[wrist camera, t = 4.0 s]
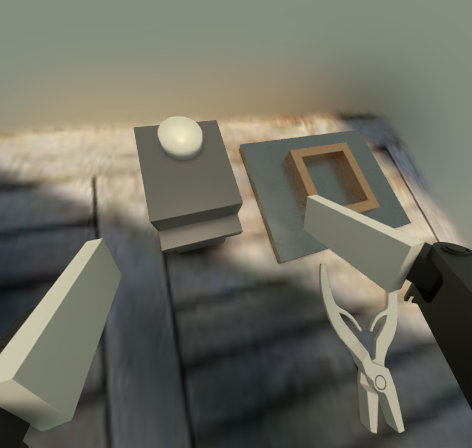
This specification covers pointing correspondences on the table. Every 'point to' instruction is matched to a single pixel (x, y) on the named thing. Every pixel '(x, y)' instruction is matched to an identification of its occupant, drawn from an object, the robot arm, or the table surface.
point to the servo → (188, 183)
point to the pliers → (368, 358)
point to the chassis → (316, 185)
